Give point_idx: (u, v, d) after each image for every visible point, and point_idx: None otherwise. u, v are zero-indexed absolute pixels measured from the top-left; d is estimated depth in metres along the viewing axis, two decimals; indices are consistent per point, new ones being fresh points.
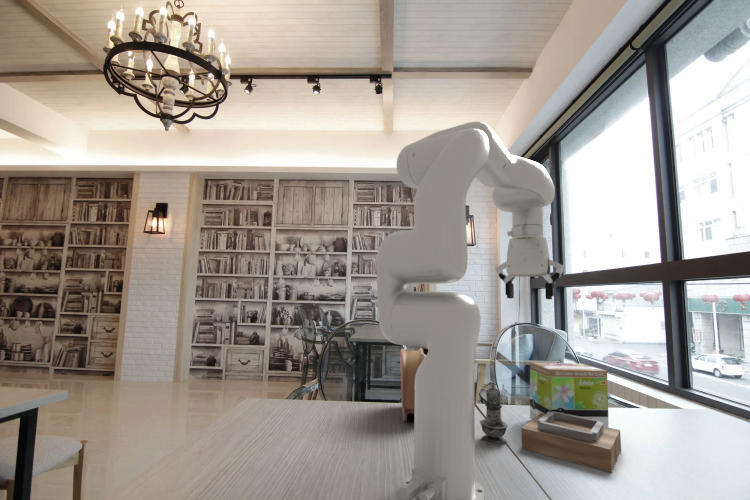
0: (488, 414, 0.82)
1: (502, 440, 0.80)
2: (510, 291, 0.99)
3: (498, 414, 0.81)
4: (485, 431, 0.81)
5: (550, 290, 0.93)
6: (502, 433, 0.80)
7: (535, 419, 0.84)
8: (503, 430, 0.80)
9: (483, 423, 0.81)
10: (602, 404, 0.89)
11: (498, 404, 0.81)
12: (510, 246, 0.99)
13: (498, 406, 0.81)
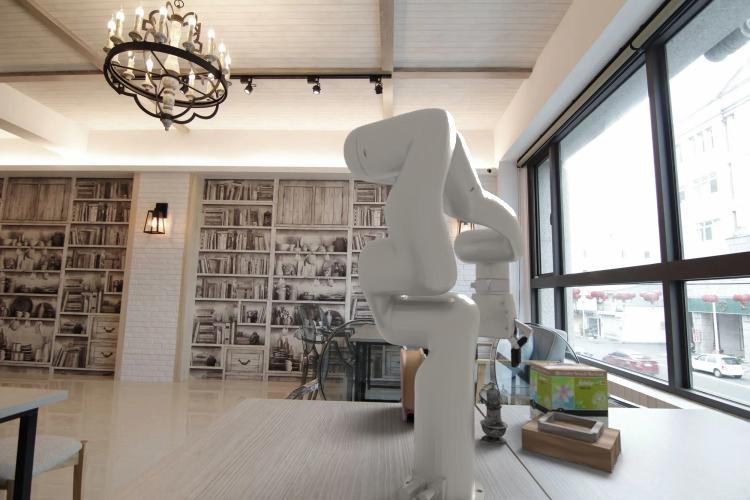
0: (488, 414, 0.82)
1: (502, 440, 0.80)
2: None
3: (498, 414, 0.81)
4: (485, 431, 0.81)
5: (516, 357, 0.80)
6: (502, 433, 0.80)
7: (535, 419, 0.84)
8: (503, 430, 0.80)
9: (483, 423, 0.81)
10: (602, 404, 0.89)
11: (498, 404, 0.81)
12: None
13: (498, 406, 0.81)
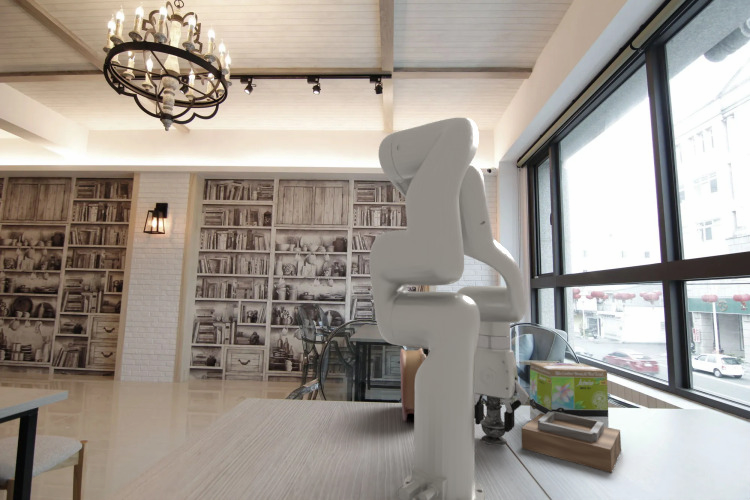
0: (488, 414, 0.82)
1: (502, 440, 0.80)
2: (479, 415, 0.83)
3: (498, 414, 0.81)
4: (485, 431, 0.81)
5: (510, 421, 0.79)
6: (502, 433, 0.80)
7: (535, 419, 0.84)
8: (503, 430, 0.80)
9: (483, 423, 0.81)
10: (602, 404, 0.89)
11: (498, 404, 0.81)
12: None
13: (498, 406, 0.81)
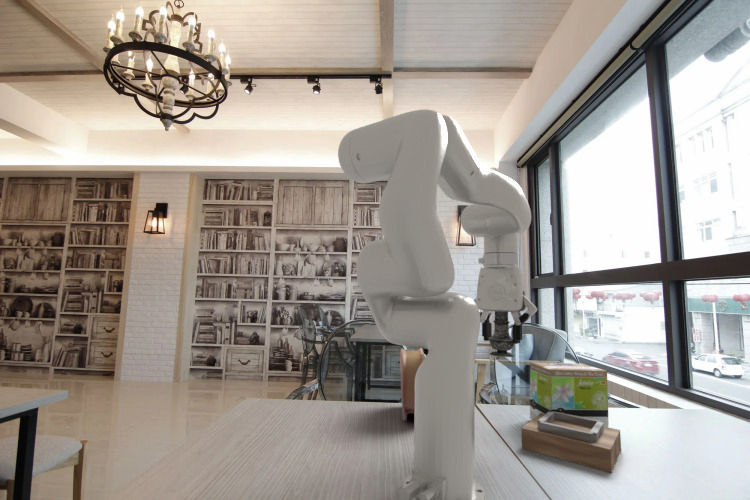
0: (496, 329, 0.83)
1: (510, 353, 0.82)
2: (487, 332, 0.85)
3: (506, 329, 0.83)
4: (493, 345, 0.83)
5: (518, 333, 0.81)
6: (510, 346, 0.82)
7: (535, 419, 0.84)
8: (511, 343, 0.82)
9: (491, 338, 0.83)
10: (602, 404, 0.89)
11: (506, 319, 0.83)
12: (481, 276, 0.86)
13: (506, 321, 0.83)
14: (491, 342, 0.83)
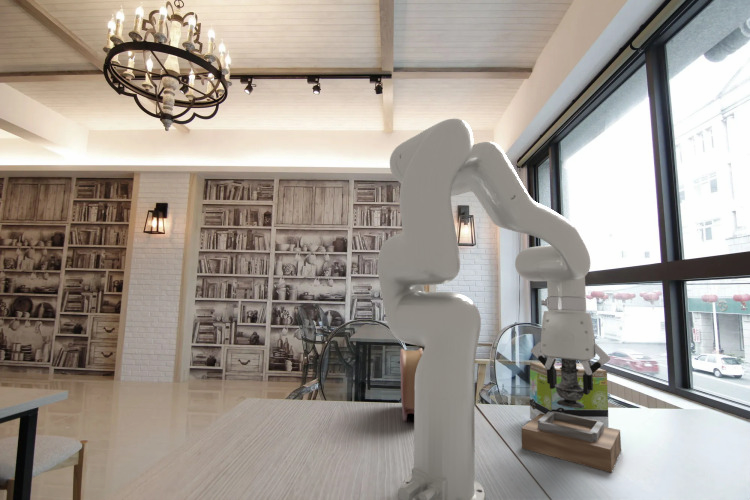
0: (564, 377, 0.79)
1: (580, 403, 0.78)
2: (553, 380, 0.81)
3: (575, 377, 0.79)
4: (562, 394, 0.78)
5: (589, 383, 0.77)
6: (581, 396, 0.77)
7: (535, 419, 0.84)
8: (582, 393, 0.77)
9: (559, 387, 0.79)
10: (601, 404, 0.89)
11: (575, 367, 0.79)
12: (545, 320, 0.82)
13: (575, 369, 0.79)
14: (559, 391, 0.79)
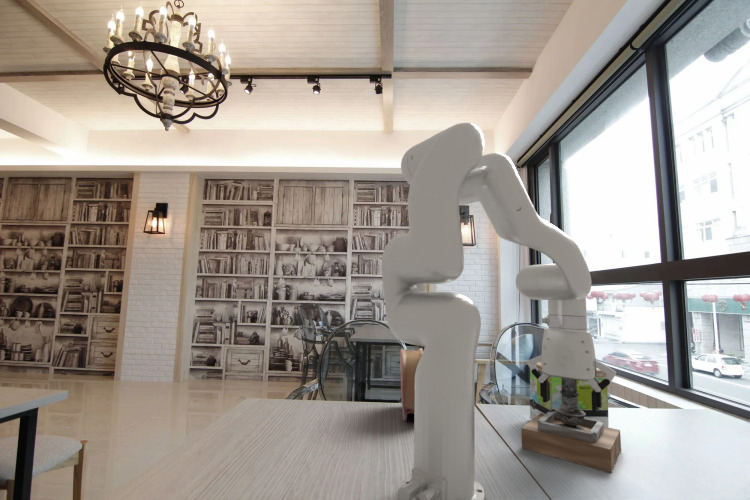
0: (564, 401, 0.79)
1: (580, 428, 0.77)
2: (546, 393, 0.81)
3: (576, 401, 0.78)
4: (562, 419, 0.78)
5: (598, 400, 0.75)
6: (581, 421, 0.77)
7: (535, 419, 0.84)
8: (582, 418, 0.77)
9: (559, 411, 0.78)
10: (602, 404, 0.89)
11: (575, 391, 0.78)
12: (546, 339, 0.81)
13: (575, 393, 0.78)
14: (559, 415, 0.78)
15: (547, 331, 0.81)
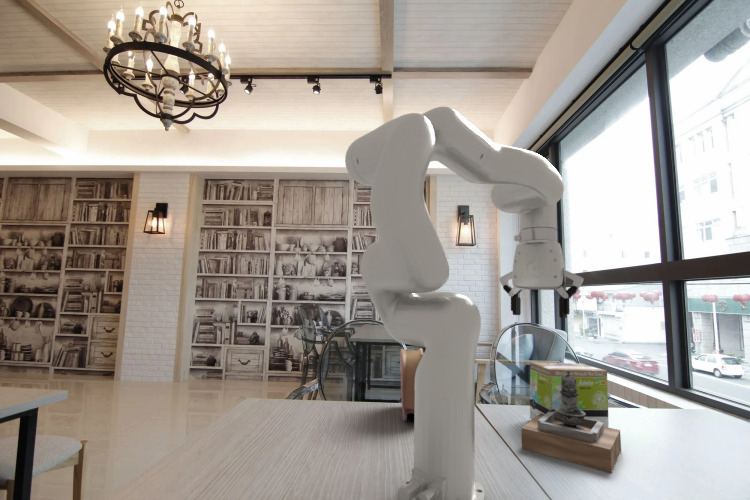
0: (564, 402, 0.79)
1: (580, 428, 0.77)
2: (516, 306, 0.83)
3: (575, 401, 0.78)
4: (562, 419, 0.78)
5: (565, 307, 0.77)
6: (581, 421, 0.77)
7: (535, 419, 0.84)
8: (582, 418, 0.77)
9: (559, 411, 0.78)
10: (602, 404, 0.89)
11: (575, 391, 0.78)
12: (517, 253, 0.83)
13: (575, 393, 0.78)
14: (559, 415, 0.78)
15: (518, 246, 0.83)
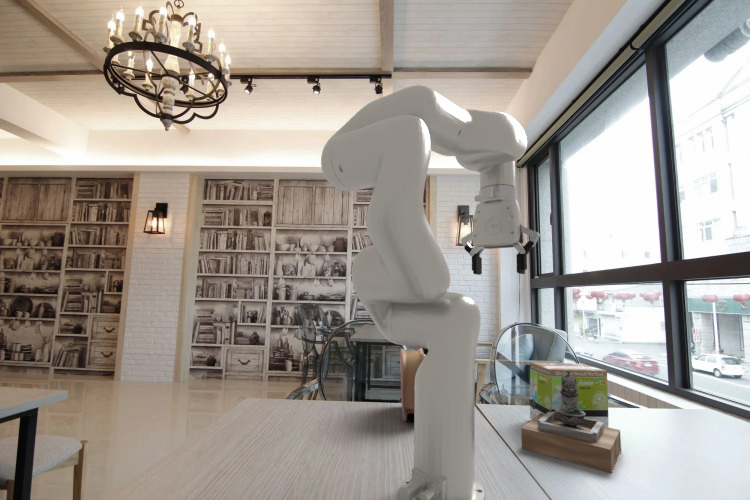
0: (564, 402, 0.79)
1: (580, 428, 0.77)
2: (477, 265, 0.83)
3: (575, 401, 0.78)
4: (562, 419, 0.78)
5: (522, 262, 0.77)
6: (581, 421, 0.77)
7: (535, 419, 0.84)
8: (582, 418, 0.77)
9: (559, 411, 0.78)
10: (601, 404, 0.89)
11: (575, 391, 0.78)
12: (477, 212, 0.83)
13: (575, 393, 0.78)
14: (559, 415, 0.78)
15: (478, 205, 0.83)
